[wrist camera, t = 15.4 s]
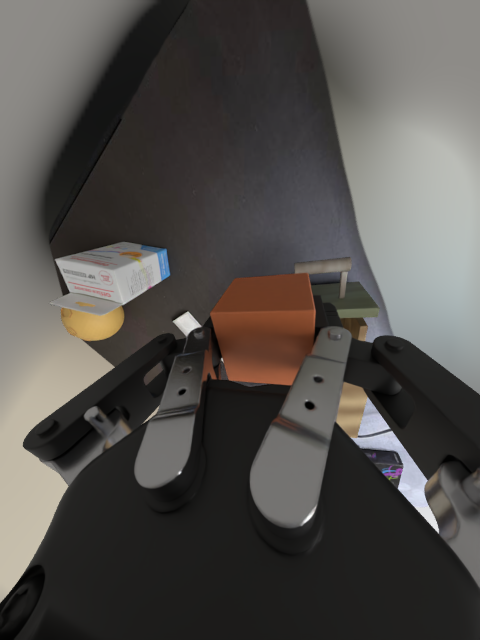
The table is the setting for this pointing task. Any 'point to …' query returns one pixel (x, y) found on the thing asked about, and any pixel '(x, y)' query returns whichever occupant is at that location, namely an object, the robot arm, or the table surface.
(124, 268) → the ink box
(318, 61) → the table surface
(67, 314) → the stress ball
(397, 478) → the box
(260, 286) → the block
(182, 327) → the white plastic blade
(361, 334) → the drawer
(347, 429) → the cabinet
